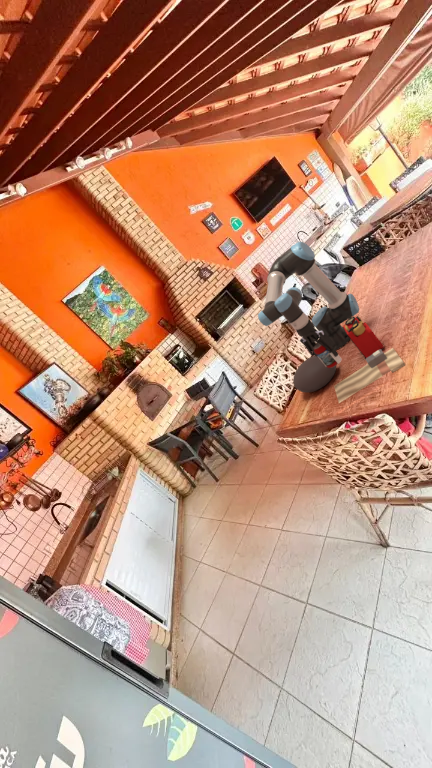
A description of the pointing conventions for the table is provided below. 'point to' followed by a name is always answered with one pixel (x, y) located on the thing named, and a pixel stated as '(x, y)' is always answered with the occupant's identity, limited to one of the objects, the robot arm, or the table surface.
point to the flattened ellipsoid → (312, 375)
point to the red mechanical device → (362, 336)
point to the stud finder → (376, 358)
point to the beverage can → (324, 355)
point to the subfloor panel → (367, 375)
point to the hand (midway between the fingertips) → (333, 362)
